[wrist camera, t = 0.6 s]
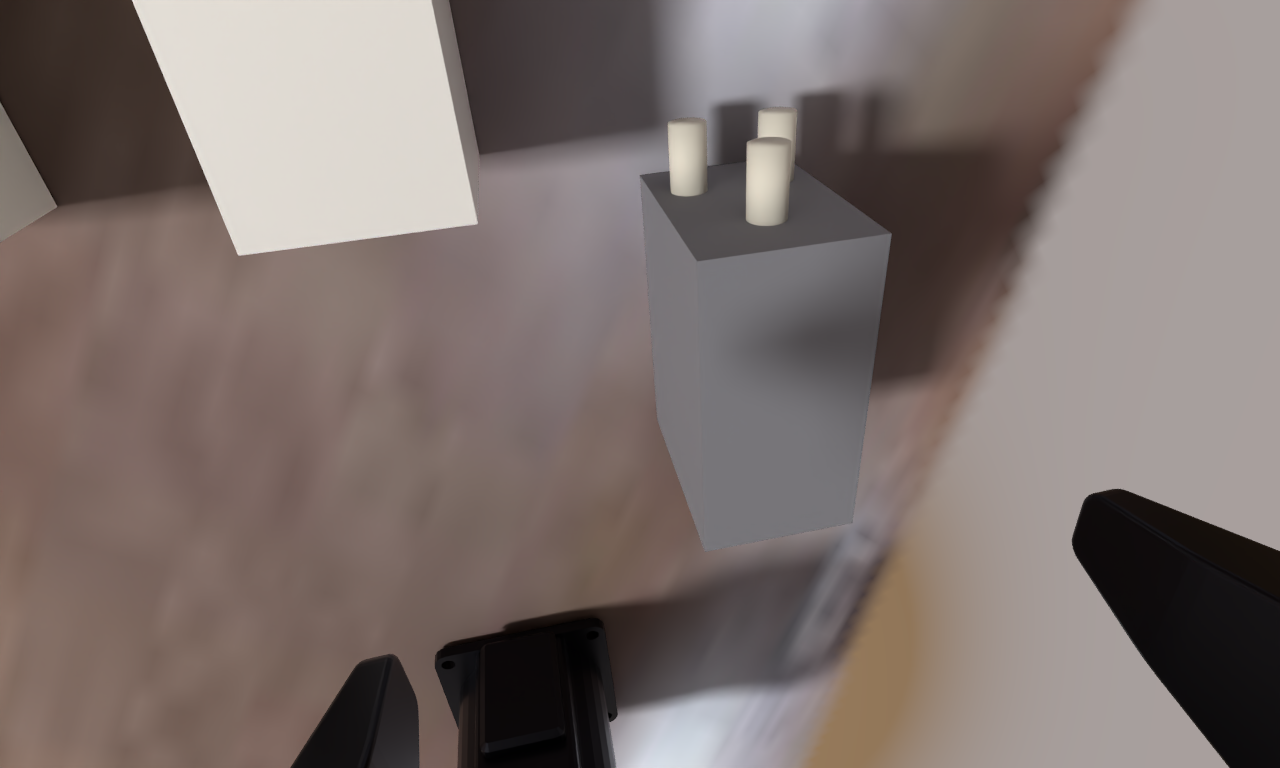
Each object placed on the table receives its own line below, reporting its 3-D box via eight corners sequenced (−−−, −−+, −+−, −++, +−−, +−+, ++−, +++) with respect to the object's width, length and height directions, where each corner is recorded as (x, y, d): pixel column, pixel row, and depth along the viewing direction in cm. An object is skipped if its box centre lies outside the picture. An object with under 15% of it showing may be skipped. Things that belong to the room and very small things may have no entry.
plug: (773, 398, 23) (852, 523, 18) (656, 418, 23) (704, 551, 18) (786, 93, 18) (902, 151, 13) (634, 111, 17) (695, 178, 12)
